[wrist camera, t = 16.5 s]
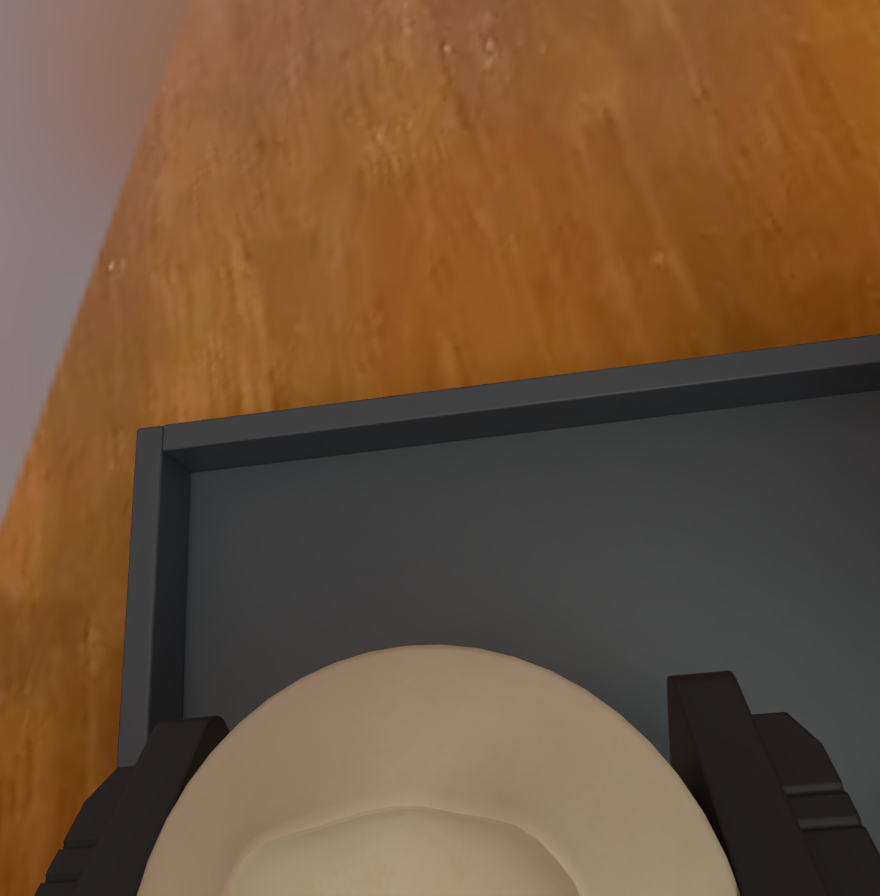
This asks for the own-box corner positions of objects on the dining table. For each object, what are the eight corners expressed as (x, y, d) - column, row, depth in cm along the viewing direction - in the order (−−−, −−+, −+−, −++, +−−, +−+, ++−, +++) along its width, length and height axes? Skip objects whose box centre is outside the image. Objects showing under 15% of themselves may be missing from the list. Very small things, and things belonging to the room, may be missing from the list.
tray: (150, 1294, 14) (77, 1392, 12) (182, 463, 19) (135, 427, 17) (1846, 1261, 12) (2138, 1376, 9) (1339, 321, 17) (1453, 260, 15)
